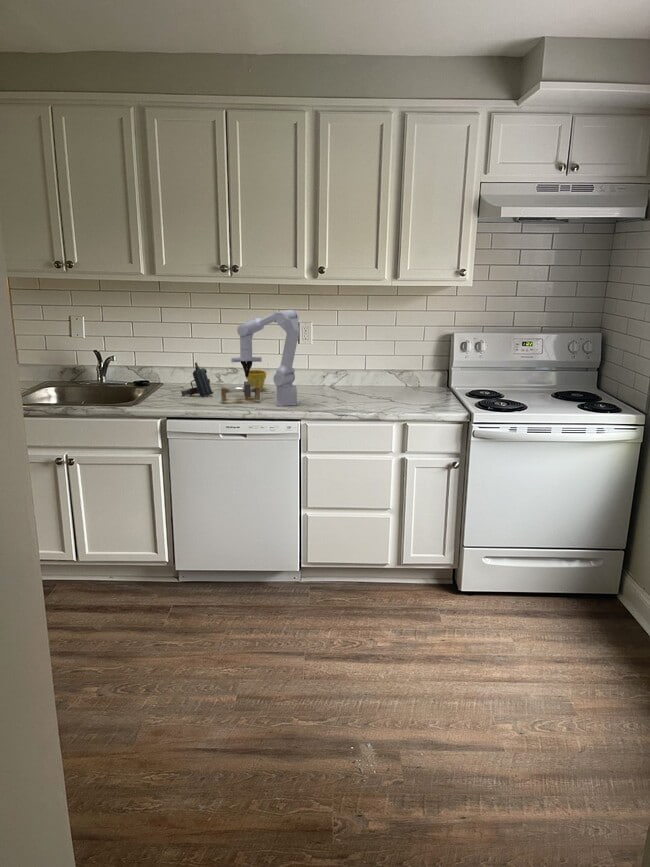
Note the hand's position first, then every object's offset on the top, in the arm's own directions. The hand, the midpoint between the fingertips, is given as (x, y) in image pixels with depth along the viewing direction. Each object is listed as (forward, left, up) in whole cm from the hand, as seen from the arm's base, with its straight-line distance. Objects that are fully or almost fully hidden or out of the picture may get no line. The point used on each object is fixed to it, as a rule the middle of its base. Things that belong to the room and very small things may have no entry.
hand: (246, 376), depth 312 cm
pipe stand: (+4, +9, -10) cm, 14 cm away
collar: (+1, +9, -8) cm, 12 cm away
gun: (+24, -6, -11) cm, 27 cm away
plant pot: (-6, -14, -11) cm, 19 cm away
